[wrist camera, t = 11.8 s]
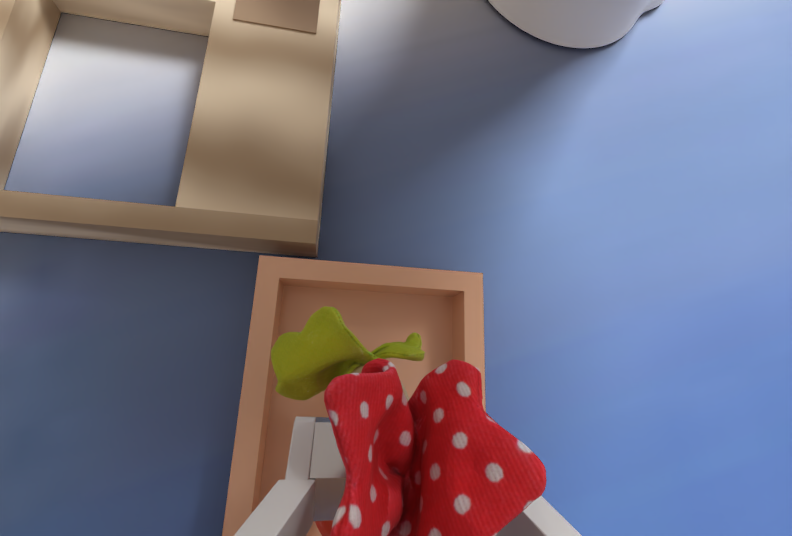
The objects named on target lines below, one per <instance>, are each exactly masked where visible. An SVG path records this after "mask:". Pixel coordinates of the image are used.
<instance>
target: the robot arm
mask: <svg viewBox="0 0 792 536" xmlns="http://www.w3.org/2000/svg"><path fill="white" fill-rule="evenodd" d="M488 1H489V2H490V3H491V4H492V6H493V7H494V8H495V9H496V10H497V11H498V12H499V13H500V14H502V15H503V16H504V17H505V18H506V19H507V20H509V21H510V22H511V23H513V24H514V25H516V26H517V27H518V28H520V29H522V30H523V31H525V32H527V33H529V34H531V35H533V36H535V37H537V38H539V39H542V40H544V41H547V42H550V43H553V44H556V45H560V46H565V47H571V48H595V47H600V46H604V45H608V44H610V43H613V42H615V41H617V40H619V39H620V38H622V37H623V36H624V35H625V34H627V33H628V32H629V31H630V29H631V28H632V27H633V25H634V24H635V22H636V21H637V20H638V18H639V17H640V15H641V14H642V13H644V12H646V11H648V10H651V9H653V8H655V7H657V6H659V5H661V4H662V3H663V2H664V0H488ZM315 419H316V421H315ZM345 484H346V470H345V466H344V463H343V461H342V458H341V455H340V453H339V450H338V447H337V444H336V439H335V436H334V433H333V429H332V425H331V422H330V419H329V417H297V416H296V418H295V421H294V426H293V432H292V438H291V444H290V451H289V457H288V463H287V469H286V476H285V480H278V481H277V483H276V484H275V485H274V486H273V488H272V489H271V490H270V491H269V492H268V494H267V495H266V496H265V497H264V499H263V500H262V501H261V502H260V504H259V505H258V506H257V507H256V509H255V510H254V511H253V512H252V514H251V515H250V516H249V517H248V519H247V520H246V521H245V522H244V524H243V525H242V526H241V527H240V529H239V530H238V531H237V532H236V533H235V535H234V536H306V535H307V533H308V531H309V530H310V528H311V526H312V524H313V521H329V520H334V517H335V515H336V512H337V509H338V507H339V505H340V502H341V500H342V497H343V494H344V490H345ZM496 536H581V535H580V534H579V533H578V532H577V531H576V530H575V529H574V528H573V527H572V526H571V525H570V524H569V523H568V522H567V521H566V520H565V519H564V518H563V517H562V516H561V515H560V514H559V513H558V512H557V511H556V510H555V509H554V508H553V507H552V506H551V505H550V504H549V503H548V502H547V501H546V500H545V499H544V498H543V497H542V496H540V497H539V498H537V499H536V500H535V501H533V502H532V503H531V504H530V505H529V506H528V507H527V508H526V509H525V510H524V511H522V512H521V513H520V514H519V515H518V516H517V517H516V518H514V519H513V520H512V521H511V522H509V523H508V524H507V525H506V526H505V527H504V528H502V529H501V530H500V531H499V532H498V533H497V534H496Z"/></svg>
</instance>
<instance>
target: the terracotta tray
mask: <svg viewBox="0 0 792 536" xmlns="http://www.w3.org/2000/svg"><path fill="white" fill-rule="evenodd" d="M324 306H327V307H334V308H336V309H337V310H338V311H339V312H340V314H341V317H342V319H343V321H344V324H345V325H346V327H347V328H348V329H349V330H350V331H351V332H352V333H353V334H354V335H355V336H356V337H357V338H358V340H359V341H360V342H361V343H362V345H363V346H364V347H365V348H366V349H367V350H368V351H369V352H372V351H373V350H374V349H376V348H377V347H379V346H381V345H382V344H384V343H392V342H405V341H406V339H407V337H408V336H409V335H410V334H412V333H414V332H415V333H418V334H419V335H420V336H421V340H422V346H421V350H423V351H424V352H425V354H424V359H423V360H422V361H411V360H406V359H399V358H386V360H388V361H390V362H391V363H392V364H394V366H395V368H396V370H397V373H398V376H399V379H400V380H401V381H402V383H403V385H404V387H405V389H406V391H407V394H408V396H409V399H410V398H411V396H412V395H413V393H414V391H415V390H416V388H417V386H418V385H419V383H420V381H421V380H422V379H423V378H424V377H425V376H426V375H427V374H428V373H430V372H431V371H432V370H434V369H436V368H437V367H439V366H441V365H443V364H445V363H446V362H448V361H449V360H452V359H454V360H460V361H464V362H467V363H469V364H471V365H473V366H475V367H476V368H478V369H479V370H480V373H481V378H482V395H483V399H482V404H483V408H484V411H485V412H486V409H485V359H484V310H483V273H475V272H462V271H450V270H437V269H425V268H412V267H400V266H387V265H375V264H363V263H350V262H338V261H325V260H313V259H300V258H288V257H275V256H263V255H259V263H258V270H257V277H256V285H255V292H254V300H253V307H252V315H251V322H250V330H249V337H248V345H247V352H246V360H245V367H244V375H243V382H242V390H241V397H240V405H239V412H238V420H237V427H236V435H235V442H234V450H233V457H232V465H231V472H230V480H229V487H228V495H227V502H226V509H225V517H224V524H223V532H222V536H234V535H235V533H236V532H237V531H238V530H239V529H240V527H241V526H242V525H243V524H244V522H245V521H246V520H247V519H248V517H249V516H250V515H251V514H252V512H253V511H254V510H255V509H256V507H257V506H258V505H259V504H260V502H261V501H262V500H263V499H264V497H265V496H266V495H267V494H268V492H269V491H270V490H271V489H272V488H273V486H274V485H275V484H276V483H277V481H278V480H285V476H286V469H287V463H288V457H289V451H290V444H291V438H292V432H293V426H294V421H295V418H296V416H297V417H329V416H328V413H327V410H326V406H325V403H324V393H325V390H324V391H322V392H320V393H319V394H317V395H315V396H313V397H311V398H310V399H308V400H295V399H290V398H287V397H284V396H282V395H280V394H279V393H277V392H276V390H275V388H276V385H277V383H278V380H277V377H276V374H275V372H274V369H273V365H272V360H271V349H272V347H273V346H274V344H275V342H276V341H277V339H278V338H279V336H281V335H282V334H284V333H287V332H301V331H302V330H303V329H304V327H305V325H306V323H307V321H308V320H309V318H310V317H311V315H312V314H313V313H315V312H316V311H318V310H319V309H320V308H322V307H324ZM315 421H316V419H315ZM306 536H322V535H321V534H320V532H319V530H318V528H317V526H316V523H315V521H313V524H312V526H311V528H310V530H309V531H308V533H307V535H306Z"/></svg>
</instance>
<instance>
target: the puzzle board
mask: <svg viewBox="0 0 792 536" xmlns="http://www.w3.org/2000/svg"><path fill="white" fill-rule="evenodd" d="M340 8H341V0H0V232H11V233H23V234H36V235H48V236H60V237H73V238H85V239H97V240H109V241H122V242H134V243H146V244H159V245H171V246H183V247H196V248H208V249H220V250H233V251H245V252H257V253H270V254H282V255H294V256H306V257H317V254H318V243H319V232H320V222H321V211H322V200H323V190H324V179H325V168H326V158H327V147H328V136H329V126H330V115H331V104H332V94H333V83H334V72H335V62H336V51H337V40H338V30H339V19H340ZM61 12H63V13H69V14H75V15H81V16H87V17H93V18H99V19H105V20H111V21H118V22H124V23H130V24H136V25H142V26H148V27H154V28H160V29H166V30H172V31H178V32H184V33H191V34H197V35H203V36H209V39H208V44H207V49H206V54H205V59H204V64H203V69H202V74H201V79H200V84H199V89H198V94H197V99H196V104H195V109H194V114H193V119H192V124H191V129H190V135H189V140H188V145H187V150H186V155H185V160H184V165H183V170H182V175H181V180H180V185H179V190H178V195H177V200H176V205H175V207H174V206H163V205H153V204H142V203H132V202H122V201H111V200H101V199H91V198H80V197H70V196H60V195H49V194H39V193H28V192H18V191H8V190H4V187H5V184H6V181H7V178H8V175H9V172H10V168H11V165H12V162H13V159H14V156H15V153H16V150H17V147H18V144H19V141H20V138H21V135H22V132H23V128H24V125H25V122H26V119H27V116H28V113H29V110H30V107H31V104H32V101H33V98H34V95H35V92H36V88H37V85H38V82H39V79H40V76H41V73H42V70H43V67H44V64H45V61H46V58H47V55H48V51H49V48H50V45H51V42H52V39H53V36H54V33H55V30H56V27H57V24H58V21H59V18H60V15H61Z"/></svg>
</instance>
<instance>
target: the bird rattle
mask: <svg viewBox="0 0 792 536" xmlns="http://www.w3.org/2000/svg"><path fill="white" fill-rule="evenodd" d="M421 346H422V340H421V336H420V335H419V334H418V333H415V332H414V333H412V334H410V335H409V336H408V337H407V339H406V341H405V342H392V343H384V344H382V345H381V346H379V347H377V348H376V349H374V350H373V351H372V352H369V351H368V350H367V349H366V348H365V347H364V346H363V345H362V343H361V342H360V341H359V340H358V338H357V337H356V336H355V335H354V334H353V333H352V332H351V331H350V330H349V329H348V328H347V327H346V325H345V324H344V321H343V319H342V317H341V314H340V312H339V311H338V310H337V309H336V308H334V307H327V306H324V307H322V308H320V309H319V310H318V311H316V312H315V313H313V314H312V315H311V317H310V318H309V320H308V321H307V323H306V325H305V327H304V329H303V330H302V331H301V332H287V333H284V334H282V335H281V336H279V338H278V339H277V341H276V342H275V344H274V346H273V347H272V349H271V360H272V365H273V369H274V372H275V374H276V377H277V380H278V383H277V385H276V388H275V390H276V392H277V393H279V394H280V395H282V396H284V397H287V398H290V399H295V400H308V399H310V398H311V397H313V396H315V395H317V394H319V393H320V392H322V391H324V390H325V393H324V403H325V406H326V410H327V413H328V416H329V419H330V422H331V425H332V429H333V433H334V436H335V439H336V444H337V447H338V450H339V453H340V455H341V458H342V461H343V463H344V466H345V470H346V484H345V490H344V494H343V497H342V500H341V502H340V505H339V507H338V509H337V512H336V515H335V517H334V520H329V521H315V523H316V526H317V528H318V530H319V532H320V534H321V535H322V536H496V534H497V533H498V532H499V531H500V530H501V529H502V528H504V527H505V526H506V525H507V524H508V523H509V522H511V521H512V520H513V519H514V518H516V517H517V516H518V515H519V514H520V513H521V512H522V511H524V510H525V509H526V508H527V507H528V506H529V505H530V504H531V503H532V502H533V501H535V500H536V499H537V498H539V497H540V496H541V495H542V493H543V492H544V490H545V486H546V470H545V467H544V465H543V463H542V462H541V461H540V459H539V458H538V457H537V456H536V455H535V454H534V453H533V452H532V451H531V450H530V449H529V448H528V447H527V446H526V445H525V444H523V443H522V442H521V441H519V440H518V439H517V438H515V437H514V436H513V435H511V434H510V433H509V432H507V431H506V430H505V429H503V428H502V427H501V426H500V425H498V424H497V423H496V422H495V421H494V420H493V419H492V418H491V417H489V416H488V414H487V413H486V412H485V411H484V408H483V404H482V399H483V395H482V378H481V373H480V370H479V369H478V368H476V367H475V366H473V365H471V364H469V363H467V362H464V361H460V360H454V359H452V360H449V361H448V362H446V363H445V364H443V365H441V366H439V367H437V368H436V369H434V370H432V371H431V372H430V373H428V374H427V375H426V376H425V377H424V378H423V379H422V380H421V381H420V383H419V385H418V386H417V388H416V390H415V391H414V393H413V395H412V396H411V398H410V399H409V396H408V394H407V391H406V389H405V387H404V385H403V383H402V381H401V380H400V379H399V376H398V373H397V370H396V368H395V366H394V364H392V363H391V362H390V361H388V360H386V358H399V359H406V360H411V361H422V360H423V359H424V354H425V352H424V351H423V350H421Z"/></svg>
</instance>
